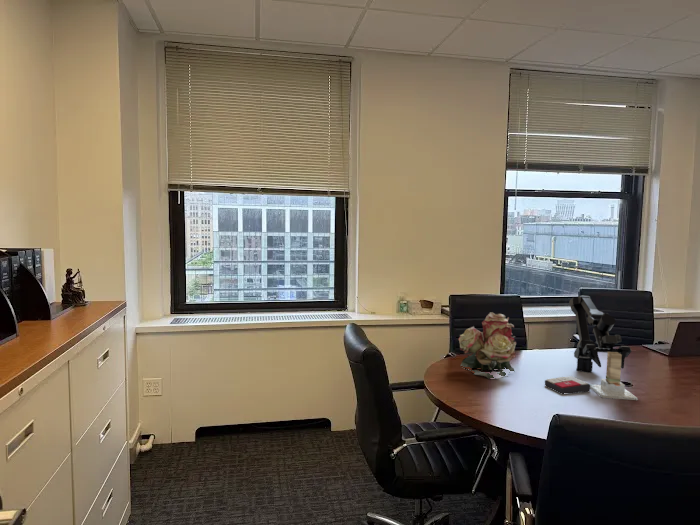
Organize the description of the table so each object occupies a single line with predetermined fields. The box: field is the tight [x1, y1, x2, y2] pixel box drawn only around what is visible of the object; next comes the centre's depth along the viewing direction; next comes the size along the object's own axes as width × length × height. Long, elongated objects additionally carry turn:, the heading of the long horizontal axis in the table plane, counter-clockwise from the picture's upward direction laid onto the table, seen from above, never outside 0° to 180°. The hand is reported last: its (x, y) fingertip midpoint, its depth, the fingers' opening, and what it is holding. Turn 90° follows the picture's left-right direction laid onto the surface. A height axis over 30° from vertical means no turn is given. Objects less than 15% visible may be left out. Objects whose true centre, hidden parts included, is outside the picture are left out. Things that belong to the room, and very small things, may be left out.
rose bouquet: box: [457, 311, 517, 380], centre depth 217 cm, size 26×29×30 cm
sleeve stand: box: [589, 378, 639, 401], centre depth 190 cm, size 14×14×6 cm
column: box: [605, 352, 622, 384], centre depth 190 cm, size 4×4×13 cm
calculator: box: [544, 375, 591, 395], centre depth 195 cm, size 11×4×15 cm
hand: (611, 367), depth 192 cm, fingers open, 9 cm apart
